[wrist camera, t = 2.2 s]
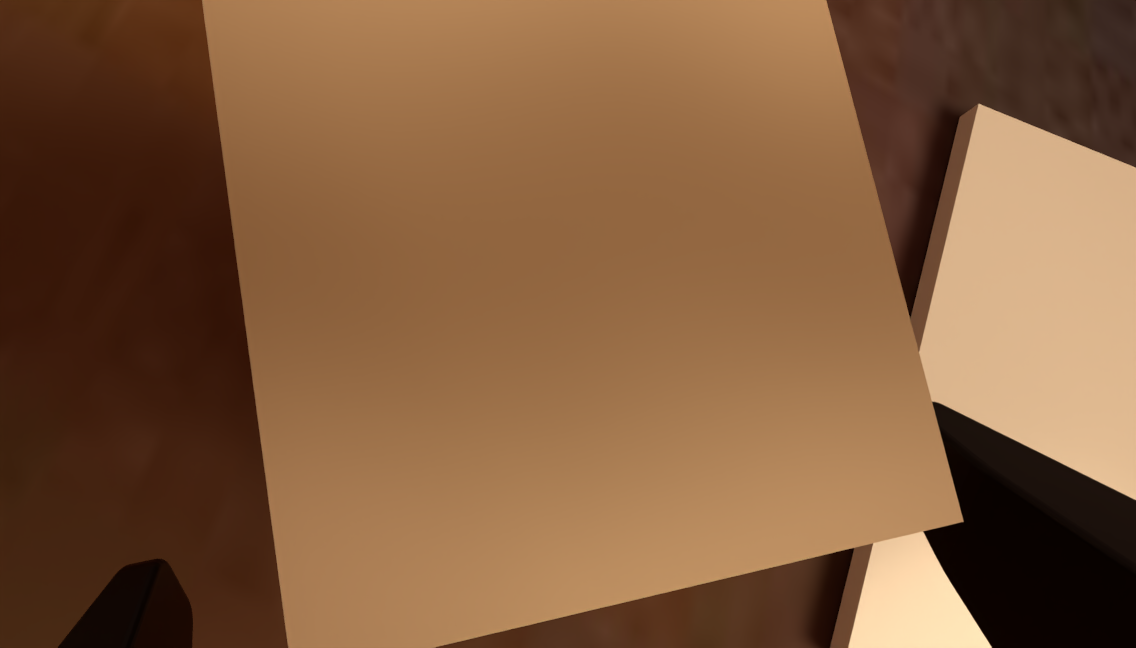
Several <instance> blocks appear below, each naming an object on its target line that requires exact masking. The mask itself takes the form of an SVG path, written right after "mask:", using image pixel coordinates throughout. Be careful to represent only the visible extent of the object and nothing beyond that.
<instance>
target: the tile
mask: <svg viewBox="0 0 1136 648" xmlns="http://www.w3.org/2000/svg"><path fill="white" fill-rule="evenodd" d="M910 320H911V324H912V328H913V332H914V335H915V339H916V343H917V347H918V351H919V354H920V358H921V362H922V366H923V369H924V373H925V377H926V381H927V385H928V388H929V392H930V396H931V400H932V402H938V403H941V404H943V405H945V406H947V407H949V408H951V409H953V410H955V411H957V412H959V413H961V414H963V415H965V416H967V417H969V418H971V419H973V420H975V421H977V422H979V423H981V424H983V425H985V426H987V427H989V428H991V429H993V430H995V431H997V432H999V433H1001V434H1003V435H1005V436H1008V437H1010V438H1012V439H1014V440H1016V441H1018V442H1020V443H1022V444H1024V445H1026V446H1028V447H1030V448H1032V449H1034V450H1036V451H1038V452H1040V453H1042V454H1044V455H1046V456H1048V457H1050V458H1052V459H1054V460H1056V461H1058V462H1060V463H1062V464H1064V465H1066V466H1068V467H1070V468H1072V469H1074V470H1076V471H1078V472H1080V473H1082V474H1084V475H1086V476H1088V477H1090V478H1092V479H1094V480H1096V481H1098V482H1100V483H1102V484H1104V485H1106V486H1108V487H1110V488H1113V489H1115V490H1117V491H1119V492H1121V493H1123V494H1125V495H1127V496H1129V497H1131V498H1133V499H1135V500H1136V168H1135V167H1133V166H1130V165H1128V164H1125V163H1123V162H1120V161H1118V160H1115V159H1113V158H1110V157H1108V156H1106V155H1103V154H1101V153H1098V152H1096V151H1093V150H1091V149H1088V148H1086V147H1083V146H1081V145H1078V144H1076V143H1074V142H1071V141H1069V140H1066V139H1064V138H1061V137H1059V136H1056V135H1054V134H1051V133H1049V132H1047V131H1044V130H1042V129H1039V128H1037V127H1034V126H1032V125H1029V124H1027V123H1024V122H1022V121H1020V120H1017V119H1015V118H1012V117H1010V116H1007V115H1005V114H1002V113H1000V112H997V111H995V110H993V109H990V108H988V107H985V106H983V105H980V104H978V105H976V106H975V107H973V108H972V109H970V110H969V111H967V112H966V113H964V114H963V115H962V116H960V118H959V122H958V126H957V130H956V135H955V139H954V143H953V147H952V151H951V155H950V159H949V163H948V167H947V171H946V175H945V179H944V184H943V188H942V192H941V196H940V200H939V204H938V208H937V212H936V216H935V220H934V224H933V229H932V233H931V237H930V241H929V245H928V249H927V253H926V257H925V261H924V265H923V269H922V273H921V278H920V282H919V286H918V290H917V294H916V298H915V302H914V306H913V310H912V314H911V318H910ZM830 648H992V647H991V645H990V644H989V642H988V641H987V639H986V638H985V636H984V634H983V633H982V631H981V630H980V628H979V627H978V625H977V623H976V622H975V620H974V619H973V617H972V616H971V614H970V612H969V611H968V609H967V608H966V606H965V605H964V603H963V601H962V600H961V598H960V597H959V595H958V594H957V592H956V590H955V589H954V587H953V586H952V584H951V582H950V581H949V579H948V577H947V576H946V574H945V572H944V571H943V569H942V567H941V565H940V563H939V562H938V560H937V558H936V556H935V554H934V552H933V550H932V548H931V546H930V544H929V542H928V540H927V538H926V536H925V534H924V532H918V533H914V534H910V535H906V536H901V537H897V538H893V539H889V540H885V541H880V542H876V543H872V544H868V545H864V546H859V547H855V548H854V551H853V556H852V560H851V564H850V568H849V572H848V576H847V580H846V584H845V588H844V592H843V596H842V600H841V605H840V609H839V613H838V617H837V621H836V625H835V629H834V633H833V637H832V641H831V645H830Z"/></svg>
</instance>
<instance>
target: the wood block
mask: <svg viewBox="0 0 1136 648" xmlns="http://www.w3.org/2000/svg"><path fill="white" fill-rule="evenodd" d="M202 3H203V11H204V18H205V26H206V33H207V41H208V48H209V56H210V63H211V71H212V78H213V86H214V93H215V101H216V108H217V116H218V124H219V131H220V139H221V146H222V154H223V161H224V169H225V176H226V184H227V191H228V199H229V206H230V214H231V221H232V229H233V236H234V244H235V251H236V259H237V266H238V274H239V281H240V289H241V296H242V304H243V311H244V319H245V326H246V334H247V341H248V349H249V356H250V364H251V371H252V379H253V386H254V394H255V401H256V409H257V416H258V424H259V431H260V439H261V446H262V454H263V461H264V469H265V476H266V484H267V492H268V499H269V507H270V514H271V522H272V529H273V537H274V544H275V552H276V559H277V567H278V574H279V582H280V589H281V597H282V604H283V612H284V619H285V627H286V634H287V642H288V648H434V647H438V646H442V645H447V644H451V643H455V642H459V641H463V640H468V639H472V638H476V637H480V636H485V635H489V634H493V633H497V632H501V631H506V630H510V629H514V628H518V627H522V626H527V625H531V624H535V623H539V622H543V621H548V620H552V619H556V618H560V617H565V616H569V615H573V614H577V613H581V612H586V611H590V610H594V609H598V608H602V607H607V606H611V605H615V604H619V603H624V602H628V601H632V600H636V599H640V598H645V597H649V596H653V595H657V594H661V593H666V592H670V591H674V590H678V589H682V588H687V587H691V586H695V585H699V584H704V583H708V582H712V581H716V580H720V579H725V578H729V577H733V576H737V575H741V574H746V573H750V572H754V571H758V570H762V569H767V568H771V567H775V566H779V565H784V564H788V563H792V562H796V561H800V560H805V559H809V558H813V557H817V556H821V555H826V554H830V553H834V552H838V551H843V550H847V549H851V548H855V547H859V546H864V545H868V544H872V543H876V542H880V541H885V540H889V539H893V538H897V537H901V536H906V535H910V534H914V533H918V532H923V531H927V530H931V529H935V528H939V527H944V526H948V525H952V524H956V523H960V522H964V521H963V517H962V514H961V510H960V506H959V502H958V498H957V495H956V491H955V487H954V483H953V479H952V476H951V472H950V468H949V464H948V460H947V457H946V453H945V449H944V445H943V442H942V438H941V434H940V430H939V426H938V423H937V419H936V415H935V411H934V407H933V404H932V400H931V396H930V392H929V388H928V385H927V381H926V377H925V373H924V369H923V366H922V362H921V358H920V354H919V351H918V347H917V343H916V339H915V335H914V332H913V328H912V324H911V320H910V316H909V313H908V309H907V305H906V301H905V297H904V294H903V290H902V286H901V282H900V279H899V275H898V271H897V267H896V263H895V260H894V256H893V252H892V248H891V244H890V241H889V237H888V233H887V229H886V225H885V222H884V218H883V214H882V210H881V207H880V203H879V199H878V195H877V191H876V188H875V184H874V180H873V176H872V172H871V169H870V165H869V161H868V157H867V153H866V150H865V146H864V142H863V138H862V134H861V131H860V127H859V123H858V119H857V116H856V112H855V108H854V104H853V100H852V97H851V93H850V89H849V85H848V81H847V78H846V74H845V70H844V66H843V62H842V59H841V55H840V51H839V47H838V44H837V40H836V36H835V32H834V28H833V25H832V21H831V17H830V13H829V9H828V6H827V2H826V0H202Z"/></svg>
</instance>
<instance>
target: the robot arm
mask: <svg viewBox="0 0 1136 648" xmlns="http://www.w3.org/2000/svg"><path fill="white" fill-rule="evenodd" d="M932 404H933V407H934V411H935V415H936V419H937V423H938V426H939V430H940V434H941V438H942V442H943V445H944V449H945V453H946V457H947V460H948V464H949V468H950V472H951V476H952V479H953V483H954V487H955V491H956V495H957V498H958V502H959V506H960V510H961V514H962V517H963V521H964V522H960V523H956V524H952V525H948V526H944V527H939V528H935V529H931V530H927V531H923V532H924V534H925V536H926V538H927V540H928V542H929V544H930V546H931V548H932V550H933V552H934V554H935V556H936V558H937V560H938V562H939V563H940V565H941V567H942V569H943V571H944V572H945V574H946V576H947V577H948V579H949V581H950V582H951V584H952V586H953V587H954V589H955V590H956V592H957V594H958V595H959V597H960V598H961V600H962V601H963V603H964V605H965V606H966V608H967V609H968V611H969V612H970V614H971V616H972V617H973V619H974V620H975V622H976V623H977V625H978V627H979V628H980V630H981V631H982V633H983V634H984V636H985V638H986V639H987V641H988V642H989V644H990V645H991V647H992V648H1136V500H1135V499H1133V498H1131V497H1129V496H1127V495H1125V494H1123V493H1121V492H1119V491H1117V490H1115V489H1113V488H1110V487H1108V486H1106V485H1104V484H1102V483H1100V482H1098V481H1096V480H1094V479H1092V478H1090V477H1088V476H1086V475H1084V474H1082V473H1080V472H1078V471H1076V470H1074V469H1072V468H1070V467H1068V466H1066V465H1064V464H1062V463H1060V462H1058V461H1056V460H1054V459H1052V458H1050V457H1048V456H1046V455H1044V454H1042V453H1040V452H1038V451H1036V450H1034V449H1032V448H1030V447H1028V446H1026V445H1024V444H1022V443H1020V442H1018V441H1016V440H1014V439H1012V438H1010V437H1008V436H1005V435H1003V434H1001V433H999V432H997V431H995V430H993V429H991V428H989V427H987V426H985V425H983V424H981V423H979V422H977V421H975V420H973V419H971V418H969V417H967V416H965V415H963V414H961V413H959V412H957V411H955V410H953V409H951V408H949V407H947V406H945V405H943V404H941V403H938V402H932ZM192 633H193V616H192V609H191V605H190V602H189V599H188V597H187V596H186V594H185V592H184V590H183V588H182V587H181V585H180V583H179V581H178V579H177V577H176V576H175V574H174V572H173V570H172V568H171V566H170V565H169V564H168V562H167V561H165V560H163V559H153V560H148V561H143V562H139V563H134V564H129V565H126V566H125V567H123V568H122V569H120V570H119V571H118V572H117V573H116V574H115V576H114V577H113V578H112V580H111V581H110V582H109V583H108V585H107V586H106V587H105V588H104V590H103V591H102V592H101V593H100V595H99V596H98V597H97V598H96V600H95V601H94V602H93V604H92V605H91V606H90V607H89V609H88V610H87V611H86V612H85V614H84V615H83V616H82V617H81V619H80V620H79V621H78V622H77V624H76V625H75V626H74V628H73V629H72V630H71V631H70V633H69V634H68V635H67V636H66V638H65V639H64V640H63V641H62V643H61V644H60V645H59V646H58V648H192Z"/></svg>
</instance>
